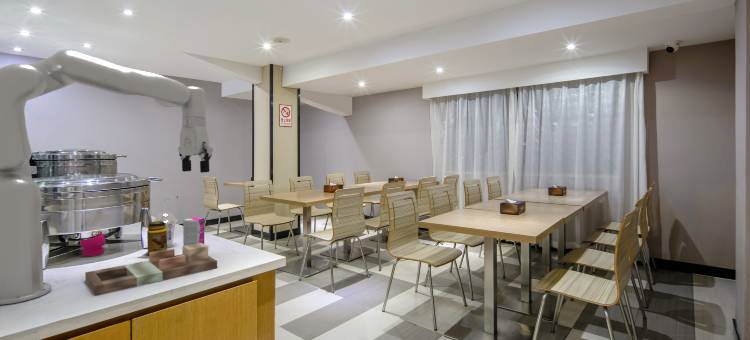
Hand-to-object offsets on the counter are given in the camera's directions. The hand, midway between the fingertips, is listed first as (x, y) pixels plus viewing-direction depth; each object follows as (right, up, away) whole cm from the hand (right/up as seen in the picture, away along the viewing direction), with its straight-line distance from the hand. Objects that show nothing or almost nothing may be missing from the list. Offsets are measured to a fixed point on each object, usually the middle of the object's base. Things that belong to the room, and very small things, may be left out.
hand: (195, 171), depth 128 cm
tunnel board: (-5, -32, -16) cm, 36 cm away
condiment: (-17, -31, +4) cm, 35 cm away
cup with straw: (-19, -30, +15) cm, 38 cm away
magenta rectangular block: (-39, -30, +4) cm, 50 cm away
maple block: (+4, -29, -8) cm, 30 cm away
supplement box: (-7, -30, +14) cm, 34 cm away
